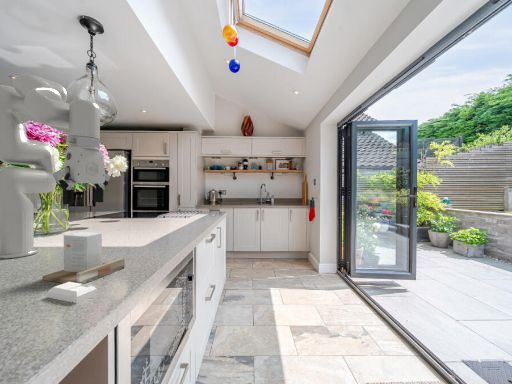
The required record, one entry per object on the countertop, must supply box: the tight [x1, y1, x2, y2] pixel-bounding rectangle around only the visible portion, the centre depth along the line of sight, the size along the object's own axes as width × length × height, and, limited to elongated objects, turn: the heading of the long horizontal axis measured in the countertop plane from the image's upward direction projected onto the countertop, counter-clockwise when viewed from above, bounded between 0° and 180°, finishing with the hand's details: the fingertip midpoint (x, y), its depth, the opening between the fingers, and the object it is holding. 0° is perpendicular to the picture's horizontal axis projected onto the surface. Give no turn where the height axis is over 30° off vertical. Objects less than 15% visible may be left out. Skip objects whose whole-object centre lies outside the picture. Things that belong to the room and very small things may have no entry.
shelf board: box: [42, 257, 125, 284], centre depth 76 cm, size 13×15×3 cm
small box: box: [63, 231, 103, 273], centre depth 76 cm, size 8×6×10 cm
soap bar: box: [47, 282, 98, 304], centre depth 61 cm, size 5×9×3 cm, turn 72°
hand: (84, 203), depth 77 cm, fingers open, 9 cm apart
